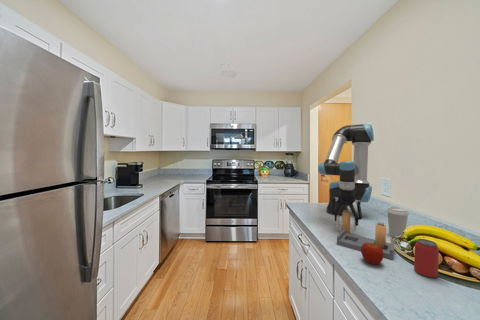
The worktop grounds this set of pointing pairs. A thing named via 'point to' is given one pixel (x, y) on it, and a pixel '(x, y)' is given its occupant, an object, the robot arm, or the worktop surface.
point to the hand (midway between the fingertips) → (345, 229)
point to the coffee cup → (397, 220)
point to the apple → (372, 253)
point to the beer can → (426, 258)
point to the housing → (368, 240)
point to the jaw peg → (346, 221)
